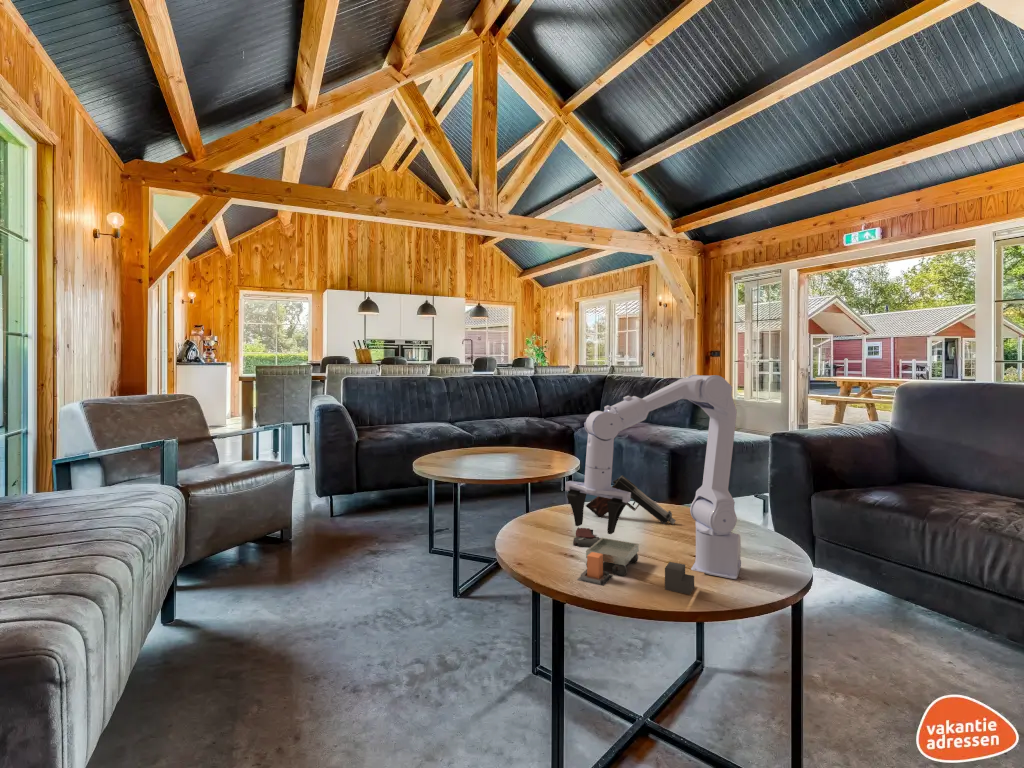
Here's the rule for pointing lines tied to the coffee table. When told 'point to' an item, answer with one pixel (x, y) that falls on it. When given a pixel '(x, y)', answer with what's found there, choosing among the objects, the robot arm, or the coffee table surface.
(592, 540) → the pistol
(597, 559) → the orange rectangular block
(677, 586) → the block
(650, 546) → the coffee table surface
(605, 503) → the handgun
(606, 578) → the socket
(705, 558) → the robot arm
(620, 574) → the trolley
